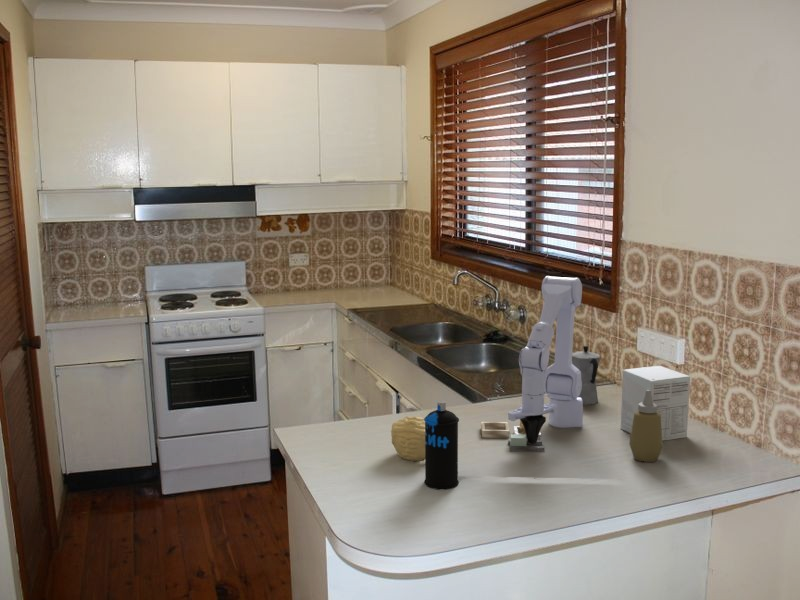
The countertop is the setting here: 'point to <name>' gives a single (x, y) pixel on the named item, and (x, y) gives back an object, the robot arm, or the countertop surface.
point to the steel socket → (517, 431)
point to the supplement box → (657, 398)
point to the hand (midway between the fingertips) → (532, 442)
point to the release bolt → (518, 440)
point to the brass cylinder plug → (522, 428)
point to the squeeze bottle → (646, 431)
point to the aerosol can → (441, 448)
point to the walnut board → (527, 447)
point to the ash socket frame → (495, 429)
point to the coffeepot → (587, 374)
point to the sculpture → (409, 438)
